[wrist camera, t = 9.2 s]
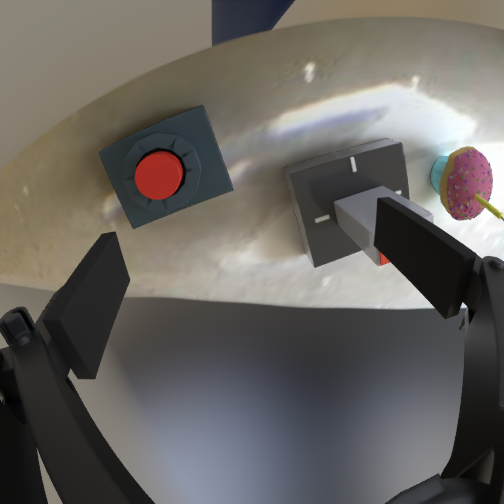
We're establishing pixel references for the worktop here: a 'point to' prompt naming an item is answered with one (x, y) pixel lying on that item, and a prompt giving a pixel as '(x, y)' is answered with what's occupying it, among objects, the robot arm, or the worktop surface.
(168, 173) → the button
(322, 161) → the plate
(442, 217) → the worktop surface
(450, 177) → the cupcake
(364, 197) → the hob knob
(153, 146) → the button box
